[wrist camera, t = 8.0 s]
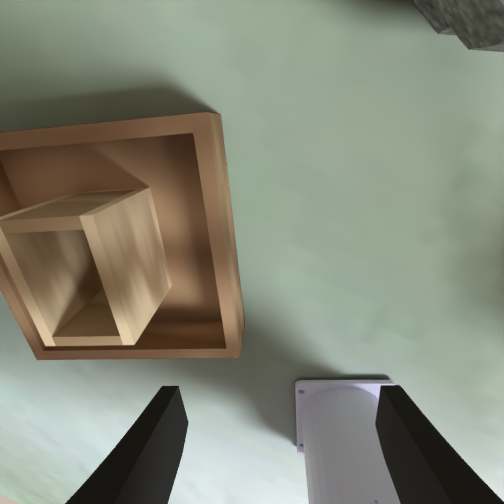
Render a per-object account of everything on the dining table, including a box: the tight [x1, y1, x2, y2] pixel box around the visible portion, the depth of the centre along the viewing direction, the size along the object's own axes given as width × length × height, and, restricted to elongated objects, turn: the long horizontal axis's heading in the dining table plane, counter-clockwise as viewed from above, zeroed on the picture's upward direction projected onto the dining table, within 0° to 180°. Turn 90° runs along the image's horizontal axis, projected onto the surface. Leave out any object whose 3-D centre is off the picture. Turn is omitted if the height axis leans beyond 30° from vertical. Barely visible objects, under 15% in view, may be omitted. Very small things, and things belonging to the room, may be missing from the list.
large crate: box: [0, 112, 245, 360], centre depth 18 cm, size 15×15×4 cm
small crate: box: [0, 187, 172, 346], centre depth 16 cm, size 7×5×6 cm
